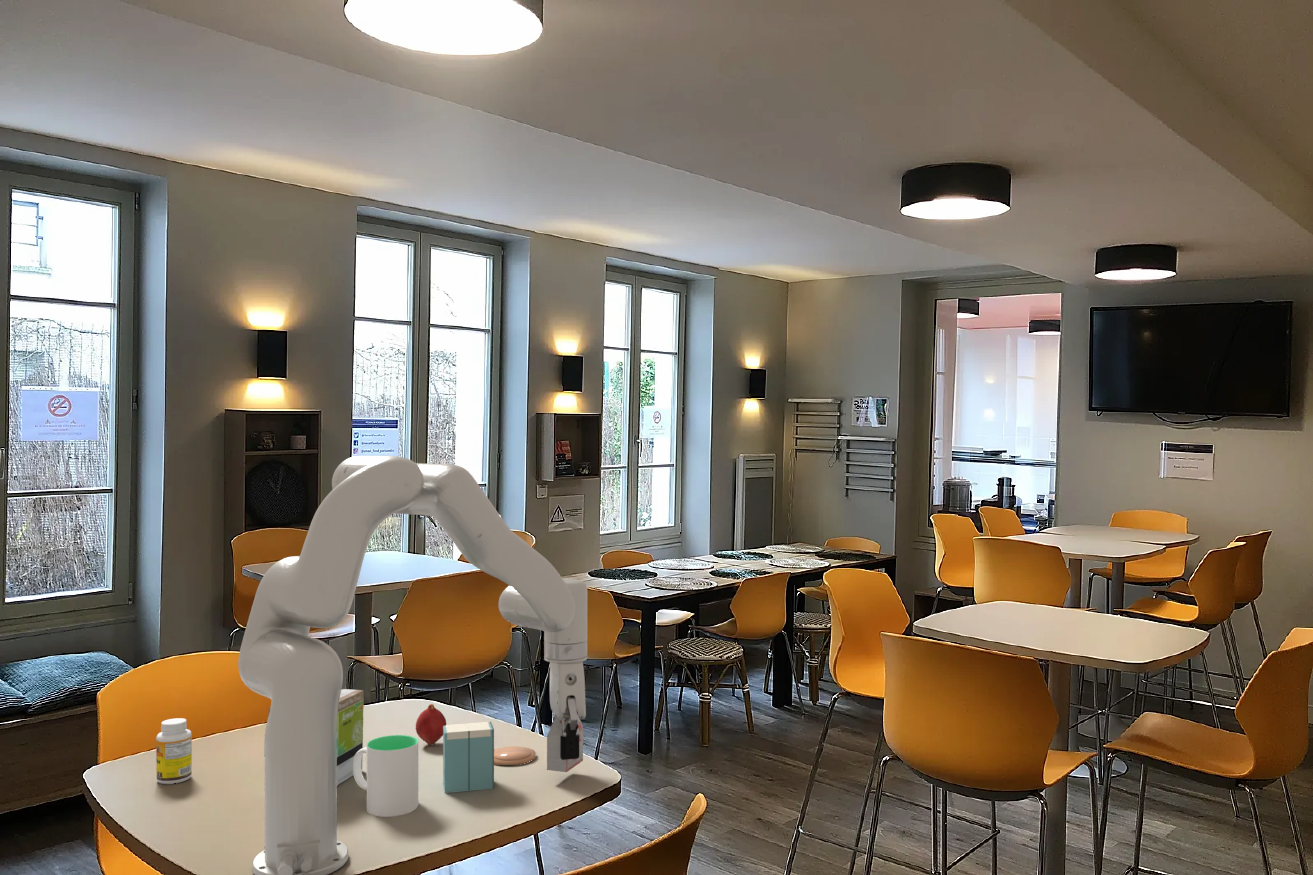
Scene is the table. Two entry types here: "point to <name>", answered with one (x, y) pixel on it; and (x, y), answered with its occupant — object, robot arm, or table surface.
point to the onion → (430, 725)
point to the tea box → (348, 731)
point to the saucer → (513, 755)
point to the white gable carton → (554, 748)
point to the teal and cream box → (468, 757)
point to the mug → (389, 775)
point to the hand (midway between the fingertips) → (565, 750)
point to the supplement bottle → (174, 752)
